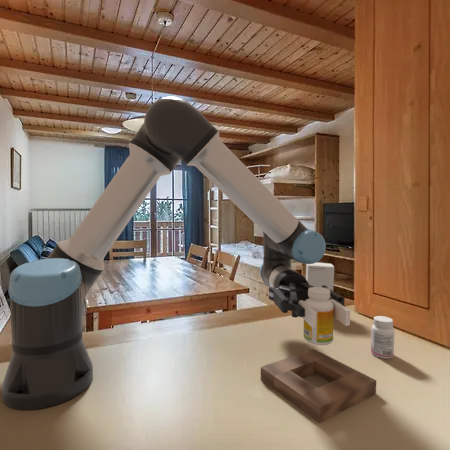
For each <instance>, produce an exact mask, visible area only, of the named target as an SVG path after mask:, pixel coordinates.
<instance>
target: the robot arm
mask: <svg viewBox="0 0 450 450" xmlns="http://www.w3.org/2000/svg"><path fill="white" fill-rule="evenodd" d="M128 148H129V155H128V156H127V158H126V159H125V161H124V162H123V164H122V165H121V166H120V168H119V169H118V171H117V172H116V173H115V175H114V176H113V177H112V178H111V181H110V182H109V183H108V185H107V186H106V187H105V189H104V190H103V192H102V193H101V194H100V195H99V196H98V198H97V200H96V201H95V203H94V204H93V206H92V207H91V209H90V210H89V211H88V213H87V214H86V215H85V217H84V218H83V219H82V221H81V222H80V223H79V225H78V227H77V228H76V229H75V231H74V232H73V233H72V235H71V237H70V238H69V239H65V240H61V241H58V242H57V243H56V245H55V246H54V248H53V249H52V251H51V252H50V253H49V255H48V256H47V258H42V259H35V260H32V261H31V262H25V263H23V264H20V265H19V266H17V267H16V268H14V269H13V270H12V271H11V273H10V275H9V285H8V296H9V309H10V313H9V314H10V327H11V329H10V330H11V346H12V347H11V348H12V349H11V351H12V353H11V355H10V356H11V357H10V360H9V361H8V362H9V363H8V366H7V369H6V373H5V376H4V379H3V381H2V387H1V392H2V395H1V397H2V401H3V403H4V404H5V405H7V406H8V407H10V408H12V409H15V410H16V409H18V410H36V409H37V410H39V409H43V408H49V407H51V406H52V407H53V406H56V405H59V404H61V403H65V402H67V401H69V400H71V399H73V398H75V397H77V396H79V395H80V394H81V393H83V392H84V391H85V390H86V389H88V388H89V387H90V385H91V384H92V381H93V379H94V366H93V363H92V359H91V358H90V356H89V353H88V350H87V347H86V346H85V342H84V340H83V339H84V338H83V318H82V317H83V314H82V313H83V310H82V308H83V306H82V305H83V303H84V301H85V298H86V296H87V295H88V293H89V291H90V290H91V288H93V286H94V284H95V283H96V282H97V280H98V278H99V277H100V276H101V274H102V273H103V271H104V270H105V264H104V258H105V257H106V256H107V254H108V252H109V251H110V250H111V249H112V246H114V244H115V243H116V241H117V240H118V238H119V237H120V235H121V234H122V233H123V231H124V229H126V226H127V225H128V224H129V222H130V221H131V219H132V218H133V216H134V215H135V214H136V212H137V211H138V210H139V208H140V207H141V205H142V203H143V202H144V201H145V199H146V198H147V196H148V195H149V193H151V191H152V189H153V188H154V186H155V185H156V184H157V182H158V181H159V179H160V177H162V176H167V175H170V174H172V172H173V170H174V169H175V168H176V166H177V165H178V163H179V161H180V160H181V161H182V163H184V164H185V165H186V166H187V167H188V166H189V167H192V166H194V167H195V168H196V169H198V171H199V172H201V174H203V175H204V176H205V177H206V178H207V179H208V181H210V182H211V183H212V184H213V185H214V186H215V187H216V188H217V189H218V190H219V191H220V192H221V193H223V194H224V195H225V196H226V198H228V199H229V200H230V201H231V202H232V203H233V204H234V205H235V206H236V207H237V208H238V209H239V210H240V211H241V212H242V213H244V214H245V215H246V216H247V217H248V218H249V219H250V221H252V222H253V223H254V224H255V225H256V226H257V227H258V228H259V229H260V230H261V231H262V235H263V236H262V237H263V238H262V240H263V244H262V245H263V257H262V259H263V260H262V264H261V266H260V269H259V275H260V278H261V280H262V281H263V283H264V285H266V286H267V287H268V299H269V300H270V301H273V303H274V305H276V306H277V308H278V309H279V311H280V312H281V313H283V314H287V313H289V311H290V312H291V318H298V317H299V318H301V319H303V321H304V320H305V321H306V322H307V323H308V324H309V325H310V326H311V327H312V328H314V327H316V315H317V312H316V311H315V310H314V309H312V308H311V307H310V306H309V305H308V304H306V303H305V301H306V300H307V299H309V297H308V289H309V288H311V287H314V286H312V285H309V284H308V282H307V280H306V276H304V275H303V274H301V273H300V272H298V271H297V270H295V269H293V268H292V260H293V261H295V262H297V263H299V264H305V265H306V264H314V263H319V262H320V260H322V258H323V257H324V255H325V252H326V250H327V249H326V248H327V245H326V244H327V243H326V241H325V238H324V236H323V235H322V234H321V233H319V232H318V231H315V230H313V229H308V227H306V225H304V224H303V223H302V222H301V221H300V220H299V219H298V218H297V217H296V216H295V215H294V214H293V213H292V212H291V211H290V210H289V209H288V208H287V207H286V206H285V204H283V203H282V202H281V201H280V200H279V198H277V196H275V194H274V193H273V192H271V190H269V188H268V187H266V185H265V184H263V182H262V181H261V180H260V179H259V178H258V177H257V176H256V175H255V174H254V173H253V172H252V171H251V170H250V169H249V168H248V167H247V166H246V164H244V163H243V162H242V161H241V160H240V158H238V156H237V155H236V154H234V153H233V152H232V150H230V149H229V147H228V146H226V145H225V143H224V142H223V141H222V140H221V138H220V131H219V130H218V129H217V128H216V127H215V126H214V125H213V123H211V122H210V121H209V120H208V119H207V118H206V116H204V115H203V114H202V113H201V112H200V111H199V110H198V109H197V108H196V107H195V106H194V105H192V104H191V103H190V102H189V101H186V100H184V99H182V98H179V97H176V96H167V97H162V98H159V99H157V100H156V101H154V102H153V103H152V104H151V105H150V106H149V108H148V109H147V111H146V113H145V115H144V122H143V123H142V125H141V126H140V128H139V129H138V130H137V131H136V133H135V135H134V137H132V139H131V141H130V142H129V143H128ZM321 287H322V288H327V289H328V287H327V286H325V285H322V286H321ZM329 290H330V289H329ZM329 300H330V301H331V302H332V303H333V305H334V319H336V320H338V322H340V323H342V324H343V326H345V327H347V326H350V325H351V309H349V308H347V307H346V306H345V297H344V296H342V295H340V294H339V293H337V292H335V291H334V290H333V291H332V290H330V298H329Z"/></svg>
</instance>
